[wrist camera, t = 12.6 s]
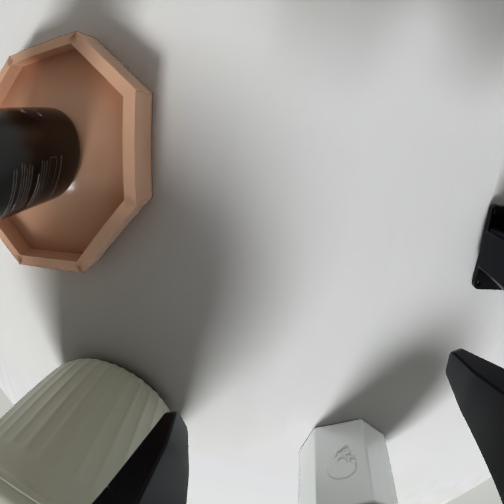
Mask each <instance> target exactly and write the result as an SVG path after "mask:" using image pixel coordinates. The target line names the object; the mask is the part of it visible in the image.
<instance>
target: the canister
mask: <svg viewBox="0 0 504 504" xmlns="http://www.w3.org/2000/svg"><path fill="white" fill-rule="evenodd" d="M166 412H170V410H169V408H168V406H167V405H166V404H165V402H164V400H163V399H162V398H161V397H159V395H158V393H157V392H156V391H154V390H153V389H152V388H151V386H150V385H148V384H146V383H145V382H144V381H143V380H142V379H140V378H138V377H137V376H135V375H134V373H130V372H128V371H127V370H126V369H125V368H121V367H118V366H117V365H116V364H111V363H109V362H107V361H100V360H99V359H90V358H84V359H76V360H73V361H69V362H67V363H64V364H63V365H61V366H60V367H58V368H57V369H55V370H54V371H53V372H51V373H50V374H49V375H48V376H47V377H46V378H44V379H43V380H42V381H41V382H40V383H38V384H37V385H36V386H35V387H34V388H33V389H32V390H30V391H29V392H28V393H27V394H26V395H25V396H24V397H23V398H22V399H21V400H19V401H18V402H17V403H16V404H15V405H14V406H13V407H12V408H11V409H10V410H9V411H8V412H7V413H6V414H5V415H4V416H3V417H2V418H1V419H0V504H92V503H93V501H94V500H95V499H96V498H97V497H98V496H99V495H100V493H101V492H102V491H103V490H104V489H105V487H106V486H107V487H108V484H109V483H110V481H111V480H112V479H113V478H114V476H115V475H116V474H117V473H118V471H119V470H120V469H121V468H122V466H123V465H124V464H125V463H126V461H127V460H128V459H129V458H130V456H131V455H132V454H133V453H134V451H135V450H136V449H137V448H138V446H139V445H140V444H141V443H142V441H143V440H144V439H145V438H146V436H147V435H148V434H149V432H150V431H151V430H152V429H153V427H154V426H155V425H156V423H157V422H158V421H159V420H160V418H161V417H162V416H163V414H164V413H166Z"/></svg>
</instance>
